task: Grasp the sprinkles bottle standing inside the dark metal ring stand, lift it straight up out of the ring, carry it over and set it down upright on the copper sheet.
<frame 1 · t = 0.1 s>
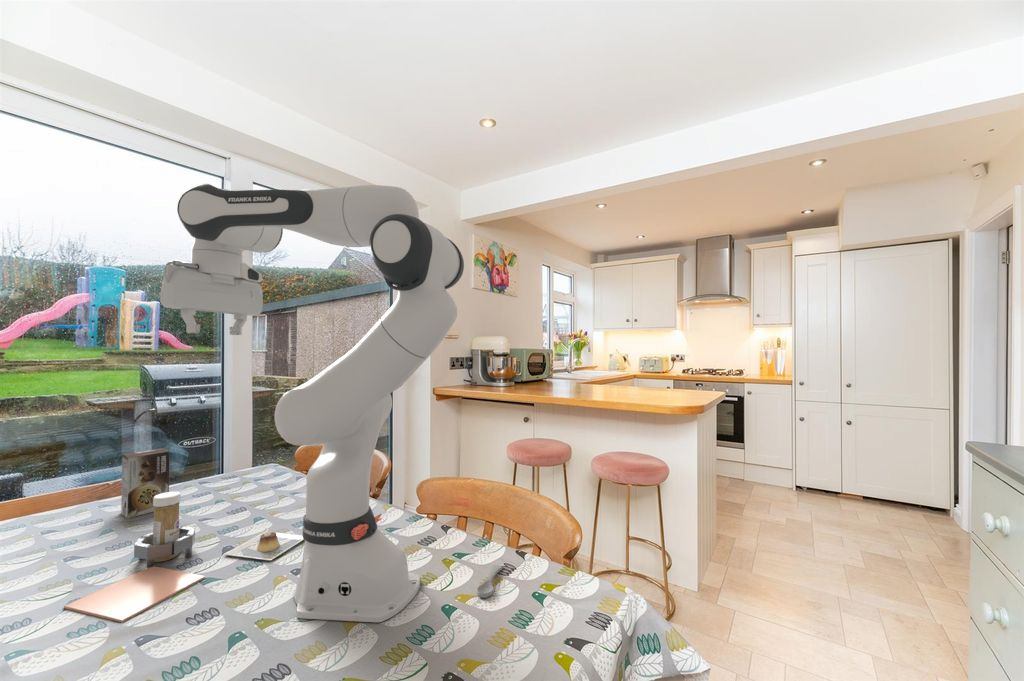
hand: (215, 334, 88), 48 cm above the table, fingers open, 8 cm apart
ring stand: (165, 557, 90), on the table
dessert: (268, 550, 95), on the table
spoon: (490, 585, 82), on the table
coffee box: (145, 511, 116), on the table
sprinkles bottle: (165, 558, 90), on the table
copper sheet: (138, 592, 77), on the table
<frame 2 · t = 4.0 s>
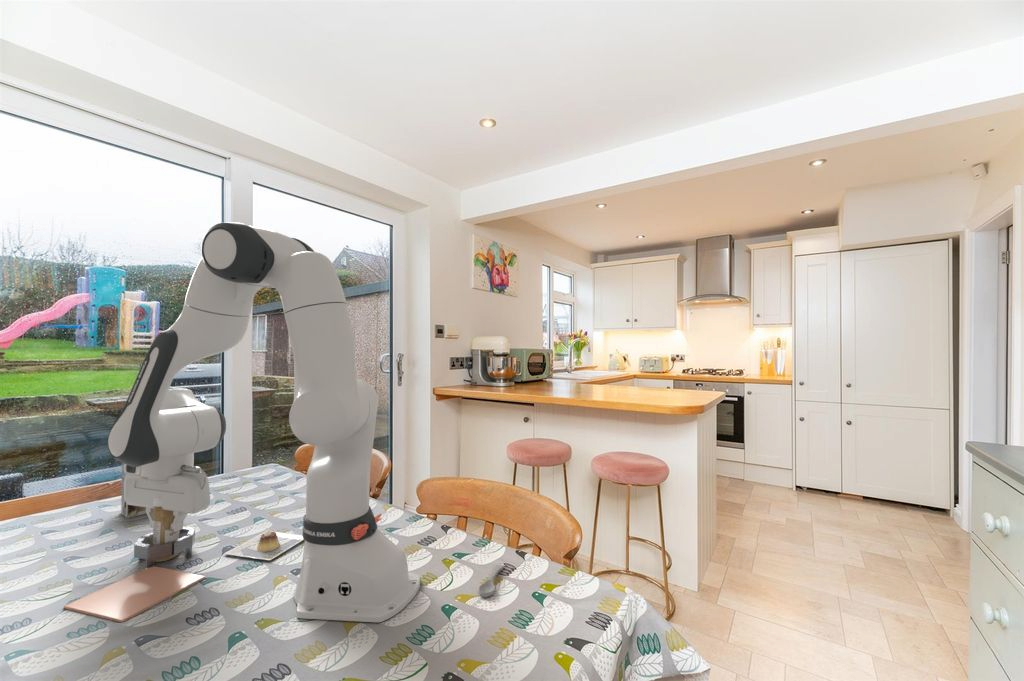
hand: (166, 528, 91), 6 cm above the table, fingers closed on sprinkles bottle, 4 cm apart
sprinkles bottle: (165, 558, 90), on the table, touching gripper
everything else where it was.
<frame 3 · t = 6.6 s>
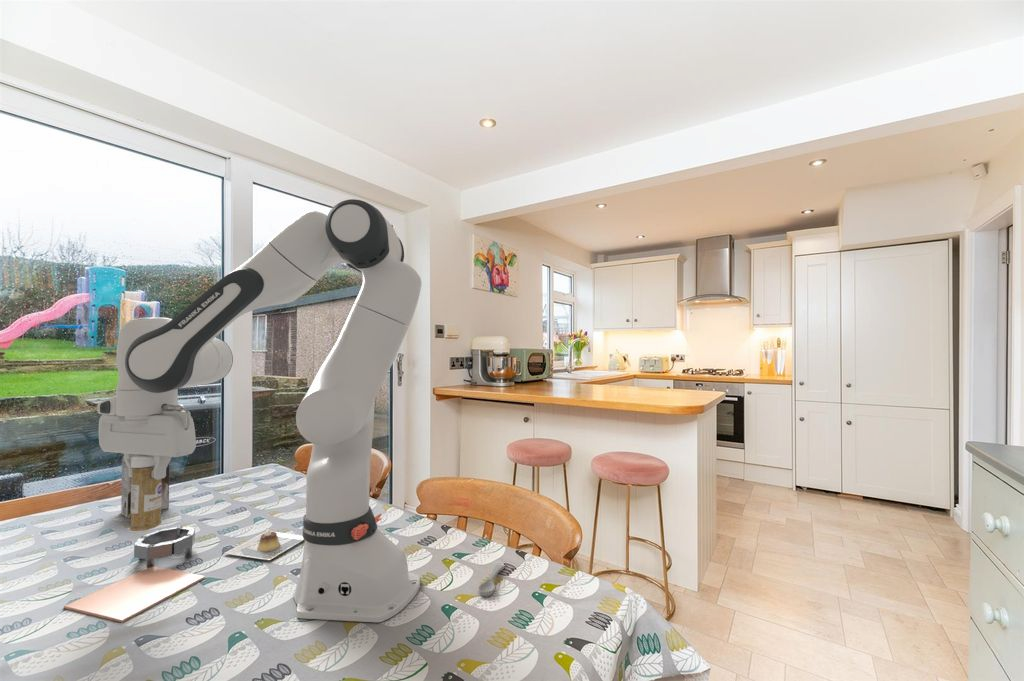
hand: (147, 477, 79), 21 cm above the table, fingers closed on sprinkles bottle, 4 cm apart
sprinkles bottle: (145, 528, 79), point 11 cm above the table, touching gripper
everything else where it was.
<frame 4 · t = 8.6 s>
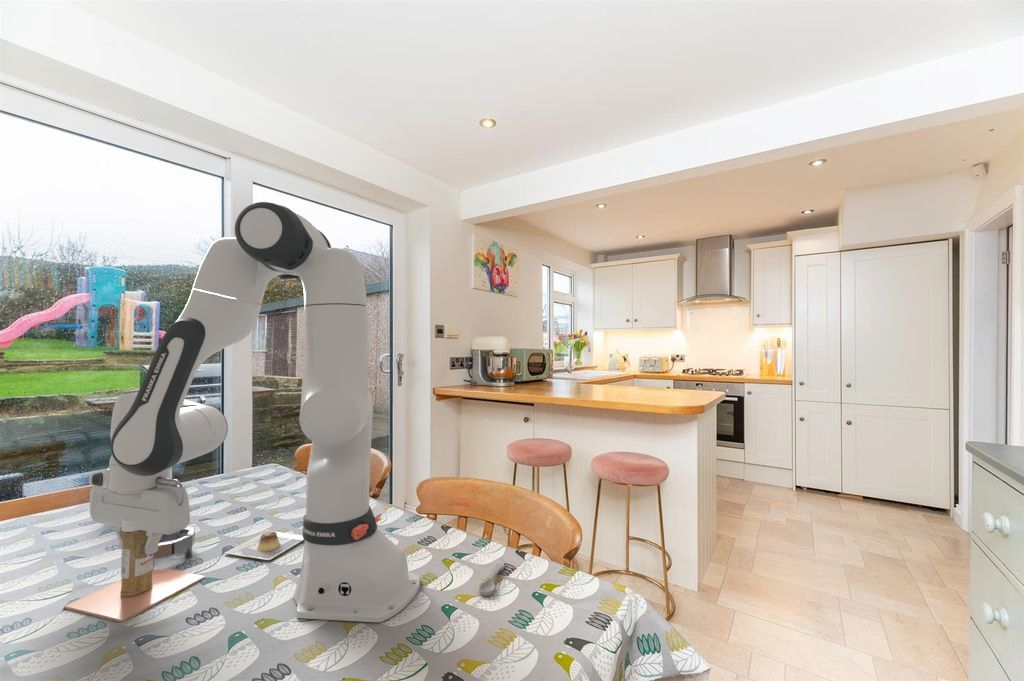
hand: (138, 550, 78), 8 cm above the table, fingers closed on sprinkles bottle, 4 cm apart
sprinkles bottle: (136, 591, 77), resting on copper sheet, touching gripper
everything else where it was.
when the fingers open (7 cm above the table, at t = 9.4 s): sprinkles bottle stays where it is, resting on copper sheet.
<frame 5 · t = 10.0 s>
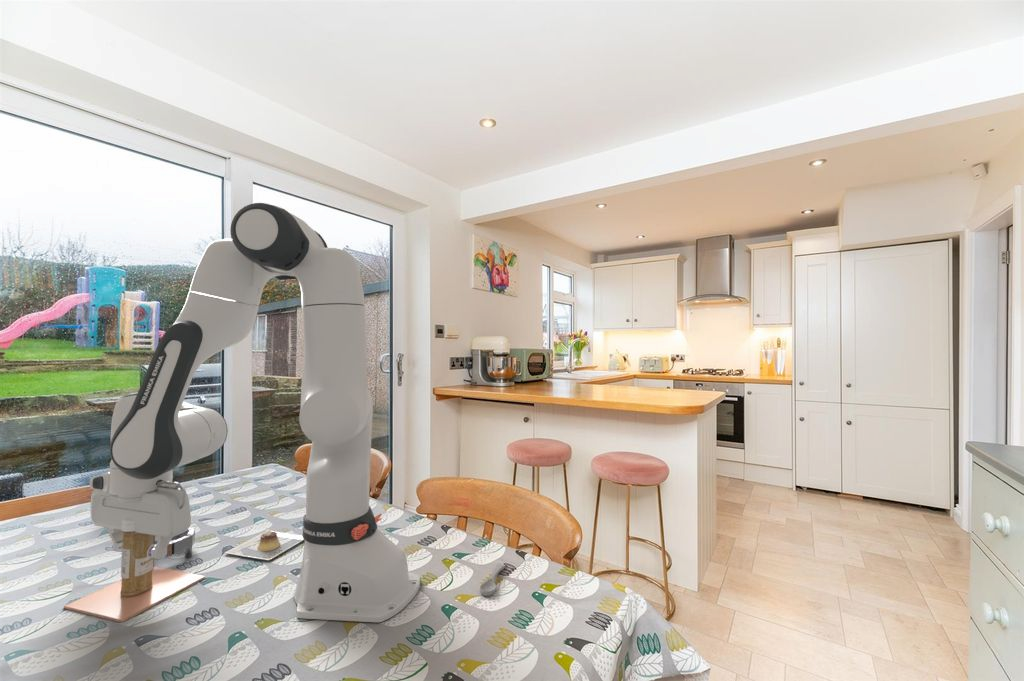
hand: (139, 554, 78), 7 cm above the table, fingers open, 8 cm apart
sprinkles bottle: (136, 591, 77), resting on copper sheet
everything else where it was.
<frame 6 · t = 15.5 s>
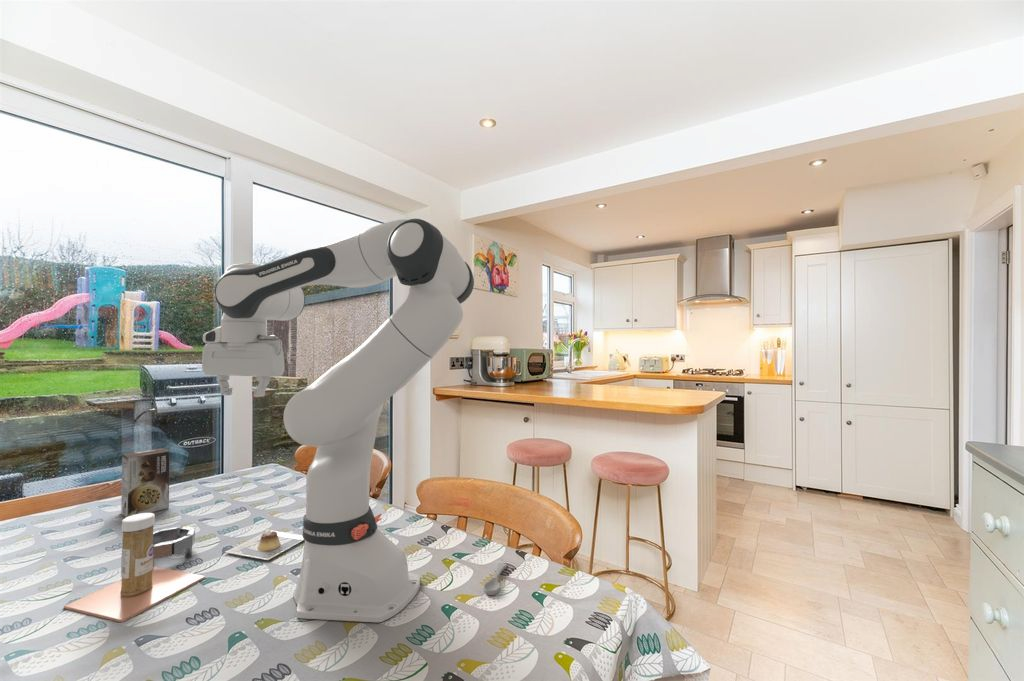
hand: (242, 395, 96), 34 cm above the table, fingers open, 8 cm apart
at the end: sprinkles bottle inside the target area on the copper sheet (0.3 cm from its centre), point 0.2 cm above the copper sheet's base; sprinkles bottle tilted 0°; the gripper is holding nothing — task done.
